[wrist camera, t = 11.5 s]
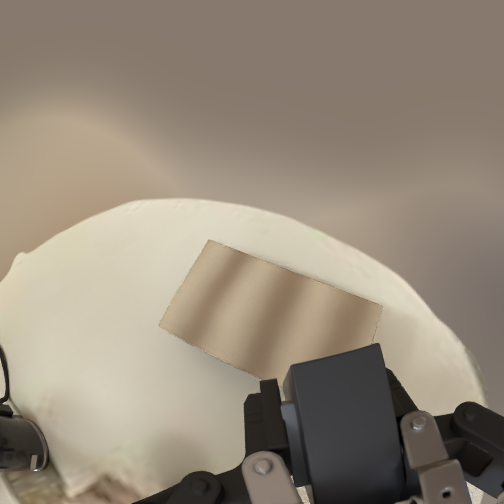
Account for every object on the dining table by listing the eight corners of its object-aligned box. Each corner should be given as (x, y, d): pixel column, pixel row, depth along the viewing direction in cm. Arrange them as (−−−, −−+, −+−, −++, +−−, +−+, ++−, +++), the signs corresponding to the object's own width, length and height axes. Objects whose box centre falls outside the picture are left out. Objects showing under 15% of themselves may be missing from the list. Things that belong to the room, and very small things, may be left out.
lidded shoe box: (181, 341, 33) (157, 325, 26) (221, 270, 38) (208, 239, 31) (329, 407, 28) (345, 410, 21) (361, 325, 32) (383, 305, 25)
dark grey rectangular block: (288, 456, 15) (302, 531, 5) (275, 384, 18) (273, 367, 7) (334, 446, 15) (406, 499, 5) (321, 374, 18) (380, 341, 7)
